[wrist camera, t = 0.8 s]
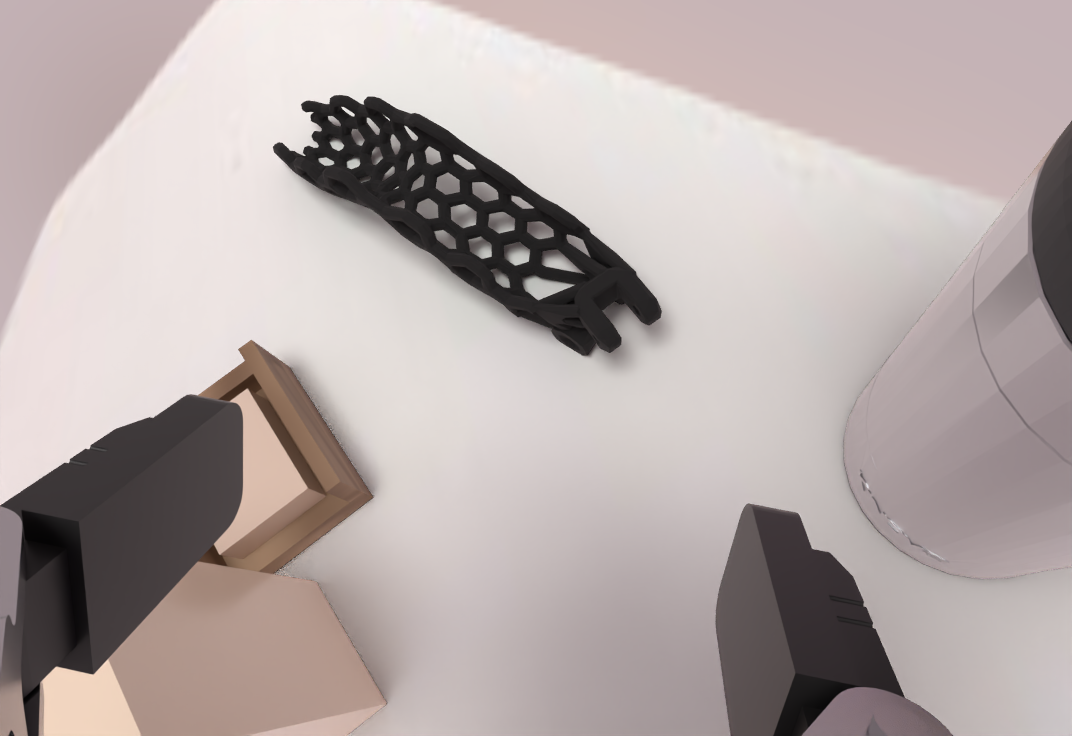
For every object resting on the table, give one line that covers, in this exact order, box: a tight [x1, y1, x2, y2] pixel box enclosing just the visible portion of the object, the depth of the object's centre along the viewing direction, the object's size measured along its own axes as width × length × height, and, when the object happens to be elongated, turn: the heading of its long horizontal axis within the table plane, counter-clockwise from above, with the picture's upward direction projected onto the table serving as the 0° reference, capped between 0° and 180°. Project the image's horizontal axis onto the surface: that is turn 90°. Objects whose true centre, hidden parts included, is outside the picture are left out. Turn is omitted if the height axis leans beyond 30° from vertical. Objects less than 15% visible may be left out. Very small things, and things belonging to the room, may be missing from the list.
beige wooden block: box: [42, 562, 387, 736], centre depth 24 cm, size 4×6×15 cm
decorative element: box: [273, 95, 662, 355], centre depth 35 cm, size 22×5×6 cm, turn 55°
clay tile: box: [214, 388, 326, 559], centre depth 33 cm, size 4×6×2 cm
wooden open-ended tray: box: [198, 340, 373, 574], centre depth 33 cm, size 15×8×4 cm, turn 127°
